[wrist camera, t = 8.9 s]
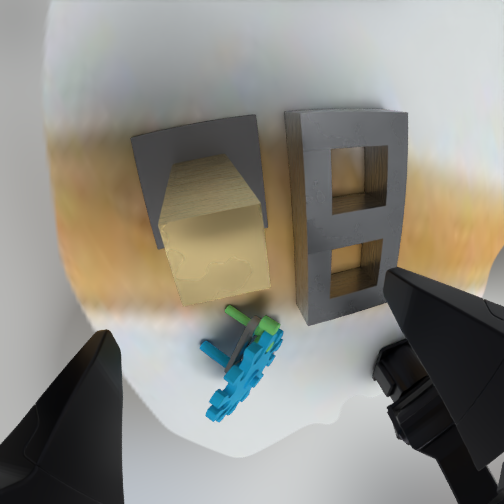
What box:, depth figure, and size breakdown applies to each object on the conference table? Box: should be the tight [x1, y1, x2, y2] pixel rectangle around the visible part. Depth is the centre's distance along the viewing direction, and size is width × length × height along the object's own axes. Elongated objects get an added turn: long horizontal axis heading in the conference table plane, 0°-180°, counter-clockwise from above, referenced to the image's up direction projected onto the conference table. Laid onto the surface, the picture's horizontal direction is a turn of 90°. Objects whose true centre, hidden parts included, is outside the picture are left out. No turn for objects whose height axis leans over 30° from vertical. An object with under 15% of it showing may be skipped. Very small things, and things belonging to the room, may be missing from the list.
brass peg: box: [158, 154, 271, 306], centre depth 15 cm, size 3×3×10 cm
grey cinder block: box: [284, 109, 408, 326], centre depth 21 cm, size 8×16×3 cm, turn 6°
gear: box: [200, 305, 283, 422], centre depth 24 cm, size 11×6×10 cm
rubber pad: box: [131, 115, 268, 249], centre depth 19 cm, size 8×8×1 cm
